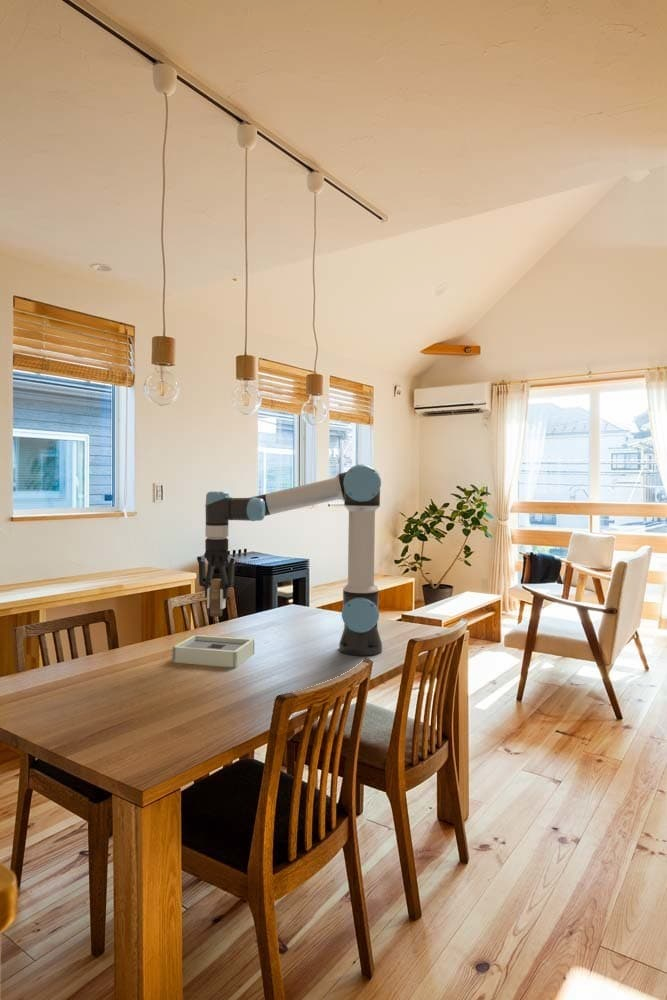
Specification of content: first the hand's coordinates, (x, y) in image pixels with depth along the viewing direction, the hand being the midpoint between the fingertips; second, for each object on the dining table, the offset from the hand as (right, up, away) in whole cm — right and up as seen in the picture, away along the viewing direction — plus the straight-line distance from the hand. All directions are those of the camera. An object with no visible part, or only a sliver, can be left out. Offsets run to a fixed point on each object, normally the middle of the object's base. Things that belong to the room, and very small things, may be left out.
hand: (216, 607), depth 203 cm
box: (-1, -17, -1) cm, 17 cm away
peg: (0, -3, 0) cm, 3 cm away
